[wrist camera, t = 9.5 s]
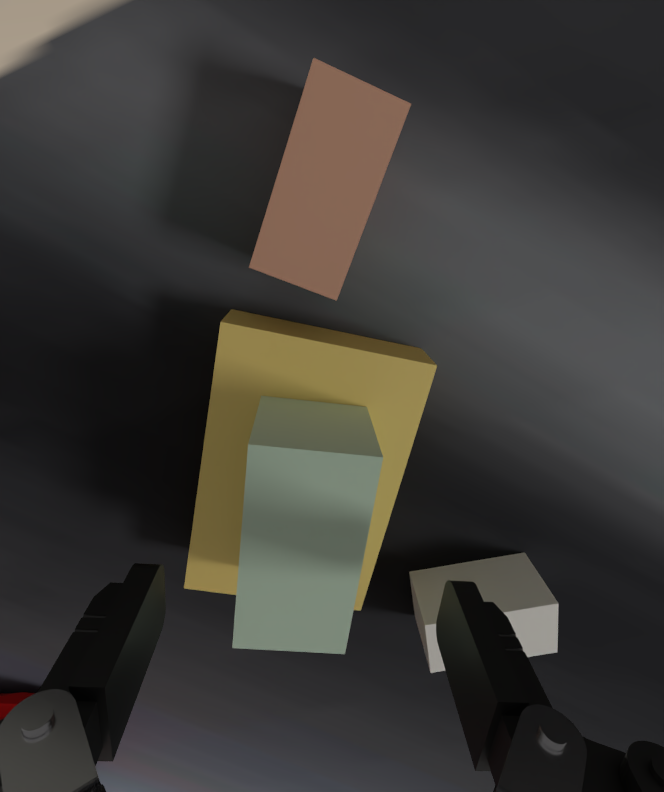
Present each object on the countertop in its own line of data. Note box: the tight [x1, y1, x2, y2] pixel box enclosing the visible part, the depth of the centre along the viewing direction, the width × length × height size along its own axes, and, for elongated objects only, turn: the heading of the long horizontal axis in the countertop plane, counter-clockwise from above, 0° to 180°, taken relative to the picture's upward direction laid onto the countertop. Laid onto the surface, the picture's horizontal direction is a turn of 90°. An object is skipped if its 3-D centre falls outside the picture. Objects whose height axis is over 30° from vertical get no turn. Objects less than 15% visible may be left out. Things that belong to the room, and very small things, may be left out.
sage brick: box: [232, 396, 383, 654], centre depth 17 cm, size 4×8×4 cm, turn 172°
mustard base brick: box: [184, 309, 437, 611], centre depth 20 cm, size 8×12×3 cm, turn 167°
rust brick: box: [249, 58, 411, 301], centre depth 15 cm, size 6×3×4 cm, turn 159°
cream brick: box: [409, 552, 558, 673], centre depth 22 cm, size 6×3×4 cm, turn 99°
